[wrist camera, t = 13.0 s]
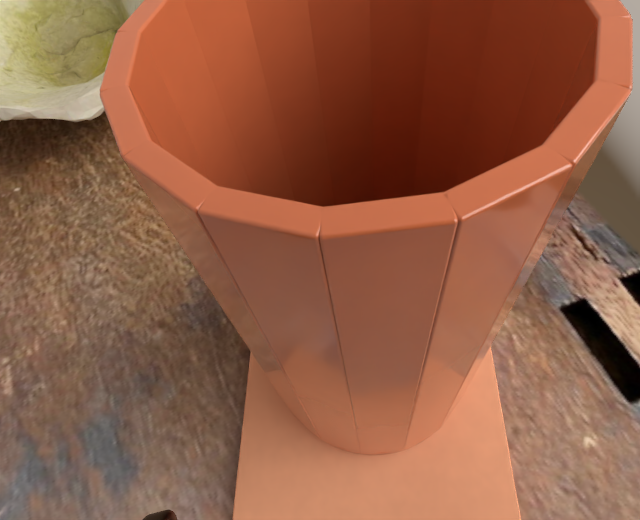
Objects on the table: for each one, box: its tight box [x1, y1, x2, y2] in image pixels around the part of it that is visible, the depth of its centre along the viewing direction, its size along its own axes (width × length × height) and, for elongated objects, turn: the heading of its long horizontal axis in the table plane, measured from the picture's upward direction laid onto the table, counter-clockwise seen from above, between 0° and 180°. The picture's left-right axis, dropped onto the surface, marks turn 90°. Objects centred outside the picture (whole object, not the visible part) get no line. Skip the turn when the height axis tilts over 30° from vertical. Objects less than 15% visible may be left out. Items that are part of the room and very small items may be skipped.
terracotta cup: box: [100, 0, 633, 455], centre depth 12 cm, size 7×7×13 cm
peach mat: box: [232, 346, 521, 520], centre depth 17 cm, size 11×9×1 cm
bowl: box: [0, 0, 144, 122], centre depth 24 cm, size 15×14×10 cm
